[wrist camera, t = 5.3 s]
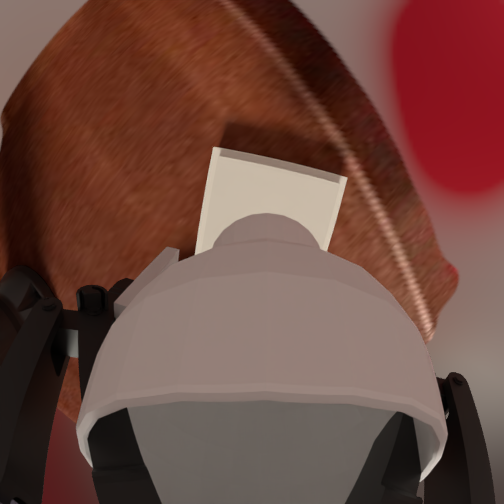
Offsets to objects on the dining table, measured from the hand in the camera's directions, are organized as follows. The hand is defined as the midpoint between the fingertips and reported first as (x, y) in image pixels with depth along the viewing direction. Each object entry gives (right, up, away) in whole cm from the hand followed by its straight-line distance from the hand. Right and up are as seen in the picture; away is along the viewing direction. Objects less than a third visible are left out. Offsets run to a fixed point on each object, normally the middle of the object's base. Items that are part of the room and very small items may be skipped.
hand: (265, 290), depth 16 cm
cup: (0, +1, +3) cm, 3 cm away
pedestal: (+1, +6, +17) cm, 18 cm away
